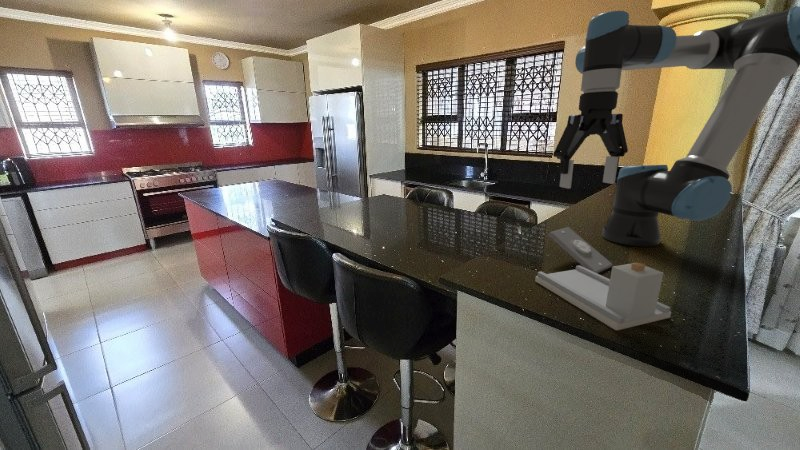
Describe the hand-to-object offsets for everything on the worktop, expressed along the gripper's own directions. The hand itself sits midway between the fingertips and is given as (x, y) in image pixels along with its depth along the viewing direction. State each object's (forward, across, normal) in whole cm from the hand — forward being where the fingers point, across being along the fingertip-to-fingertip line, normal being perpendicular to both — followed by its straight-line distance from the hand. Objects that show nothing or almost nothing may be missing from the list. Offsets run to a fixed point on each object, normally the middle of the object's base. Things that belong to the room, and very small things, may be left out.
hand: (587, 185), depth 82 cm
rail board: (+20, +11, +16) cm, 28 cm away
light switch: (+21, 0, 0) cm, 21 cm away
